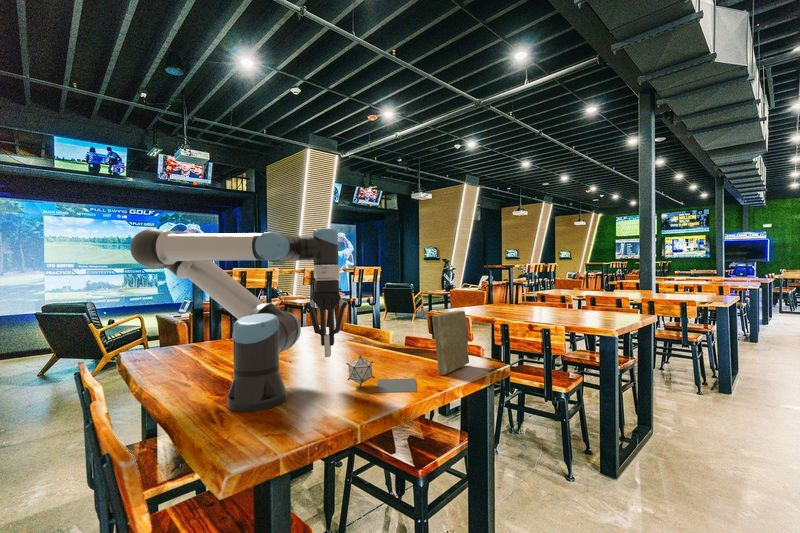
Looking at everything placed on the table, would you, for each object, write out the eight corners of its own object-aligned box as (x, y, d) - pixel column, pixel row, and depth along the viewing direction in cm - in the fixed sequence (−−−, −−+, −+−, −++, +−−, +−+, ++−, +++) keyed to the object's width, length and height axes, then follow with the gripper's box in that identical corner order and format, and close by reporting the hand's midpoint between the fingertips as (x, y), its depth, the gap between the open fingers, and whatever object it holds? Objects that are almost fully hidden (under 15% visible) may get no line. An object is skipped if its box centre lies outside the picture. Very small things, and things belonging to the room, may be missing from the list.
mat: (375, 393, 106) (375, 392, 106) (378, 380, 118) (378, 379, 118) (416, 392, 106) (416, 391, 106) (415, 379, 118) (415, 378, 118)
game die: (377, 382, 116) (376, 351, 116) (372, 392, 108) (372, 358, 107) (349, 382, 117) (349, 350, 117) (343, 391, 108) (342, 357, 108)
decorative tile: (447, 376, 121) (446, 316, 121) (432, 373, 124) (431, 315, 124) (472, 364, 136) (472, 310, 136) (458, 361, 139) (457, 309, 139)
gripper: (301, 280, 108) (303, 359, 108) (345, 279, 108) (347, 358, 108) (308, 279, 116) (309, 353, 116) (349, 278, 116) (350, 352, 116)
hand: (327, 356), depth 112 cm, fingers closed
